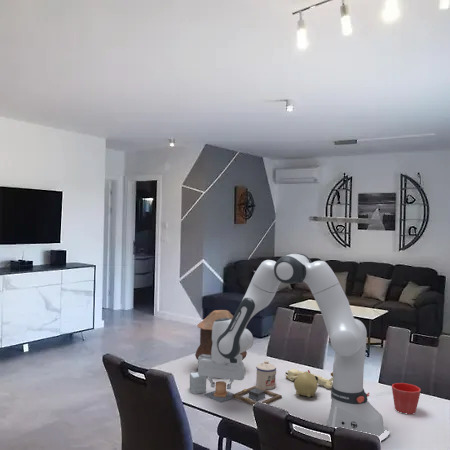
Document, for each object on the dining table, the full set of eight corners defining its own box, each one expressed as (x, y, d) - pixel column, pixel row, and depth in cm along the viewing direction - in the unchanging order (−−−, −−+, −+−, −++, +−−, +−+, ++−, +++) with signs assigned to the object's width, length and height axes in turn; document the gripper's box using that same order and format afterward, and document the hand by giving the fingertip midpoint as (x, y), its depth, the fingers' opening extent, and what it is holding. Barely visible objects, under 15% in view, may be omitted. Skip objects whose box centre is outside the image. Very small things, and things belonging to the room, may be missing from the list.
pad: (236, 396, 201) (237, 394, 201) (220, 402, 194) (220, 401, 194) (220, 389, 208) (220, 388, 208) (204, 395, 201) (204, 394, 201)
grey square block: (265, 397, 200) (265, 390, 200) (257, 401, 197) (258, 393, 196) (256, 394, 204) (256, 387, 204) (248, 397, 200) (248, 390, 200)
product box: (202, 387, 210) (202, 371, 210) (206, 392, 204) (206, 376, 204) (189, 389, 208) (189, 372, 208) (192, 394, 202) (193, 377, 202)
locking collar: (281, 398, 200) (281, 394, 200) (259, 407, 189) (259, 404, 189) (254, 388, 211) (254, 385, 211) (232, 397, 200) (232, 393, 200)
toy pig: (321, 393, 207) (322, 369, 207) (312, 402, 197) (313, 377, 196) (300, 389, 212) (301, 365, 212) (290, 397, 202) (291, 372, 201)
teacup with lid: (267, 391, 208) (268, 365, 207) (251, 386, 214) (252, 360, 213) (283, 384, 217) (284, 359, 216) (267, 379, 223) (268, 355, 222)
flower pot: (396, 403, 198) (397, 380, 198) (423, 410, 191) (424, 387, 191) (387, 410, 190) (387, 387, 190) (414, 418, 183) (415, 394, 183)
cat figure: (338, 389, 216) (289, 373, 230) (340, 371, 216) (291, 356, 230) (330, 396, 208) (280, 379, 222) (332, 377, 208) (282, 361, 222)
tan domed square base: (225, 397, 198) (225, 385, 198) (213, 396, 199) (213, 384, 199) (228, 392, 203) (228, 381, 203) (216, 391, 205) (217, 379, 205)
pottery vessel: (230, 383, 217) (231, 318, 216) (184, 372, 229) (186, 311, 229) (254, 368, 239) (256, 309, 238) (212, 359, 252) (213, 303, 251)
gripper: (196, 355, 200) (195, 387, 200) (243, 360, 195) (242, 393, 196) (200, 351, 206) (199, 382, 206) (246, 355, 201) (245, 387, 202)
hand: (220, 387), depth 201 cm, fingers open, 6 cm apart
